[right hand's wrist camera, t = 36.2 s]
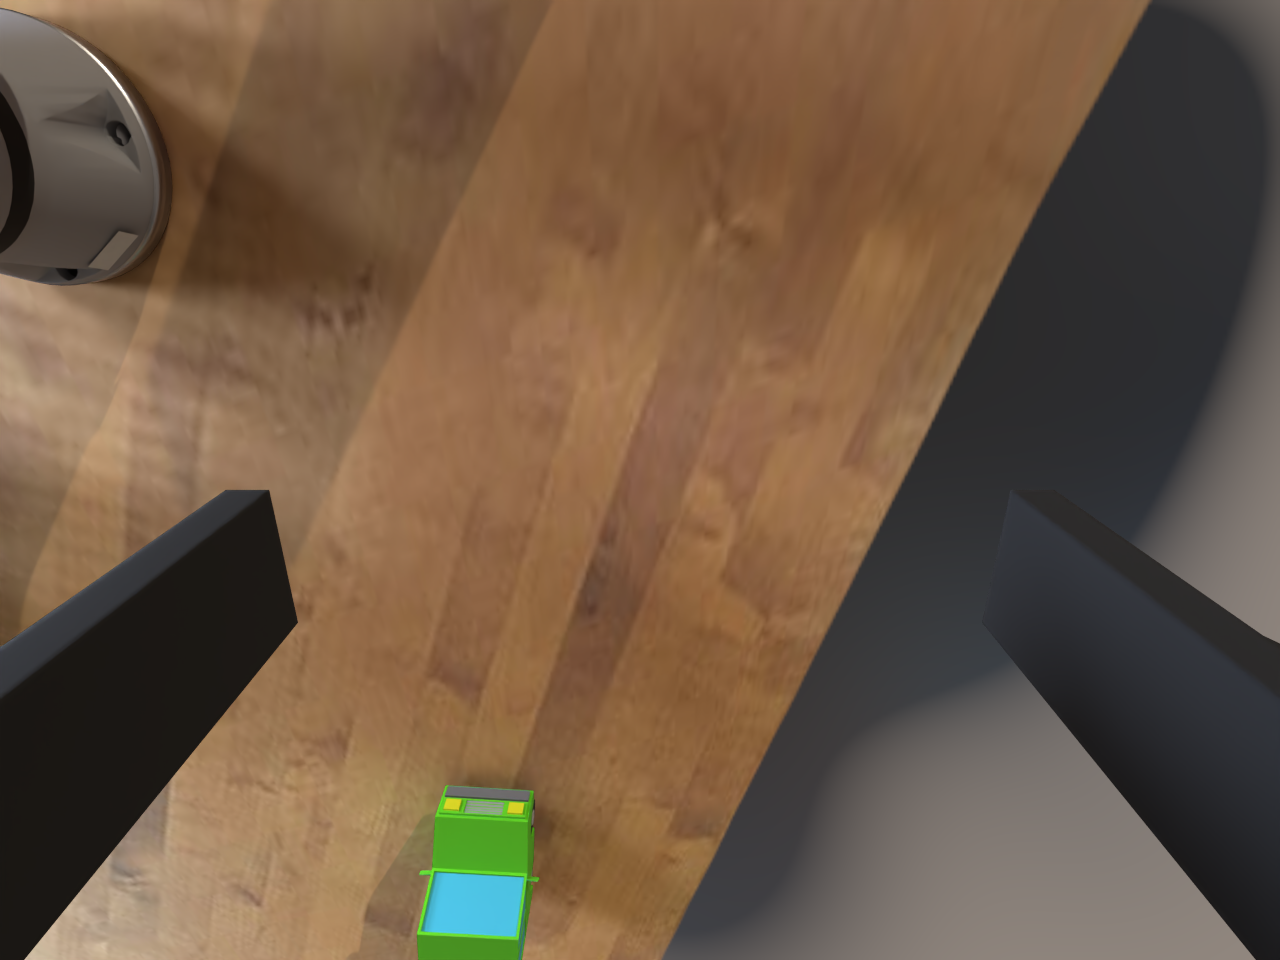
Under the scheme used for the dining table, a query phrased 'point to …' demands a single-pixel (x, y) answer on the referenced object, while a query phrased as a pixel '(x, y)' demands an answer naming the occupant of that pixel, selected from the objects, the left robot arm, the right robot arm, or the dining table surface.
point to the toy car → (479, 876)
